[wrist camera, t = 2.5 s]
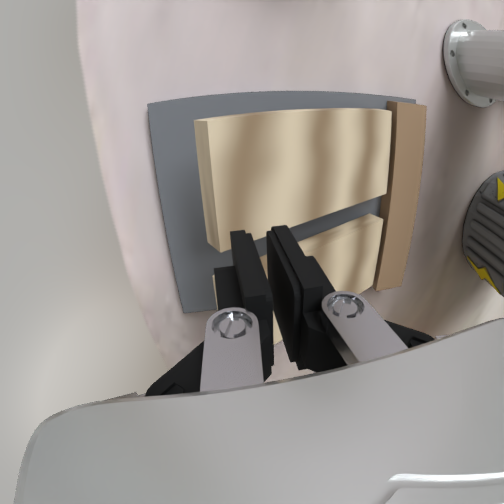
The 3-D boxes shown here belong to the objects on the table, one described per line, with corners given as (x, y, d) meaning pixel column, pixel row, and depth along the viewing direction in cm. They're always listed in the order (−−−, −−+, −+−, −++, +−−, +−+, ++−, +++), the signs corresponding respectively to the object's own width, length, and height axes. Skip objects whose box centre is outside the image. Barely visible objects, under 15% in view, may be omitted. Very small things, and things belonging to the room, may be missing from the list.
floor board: (408, 98, 29) (426, 101, 26) (388, 275, 41) (400, 289, 38) (149, 103, 26) (143, 104, 23) (183, 305, 38) (183, 324, 35)
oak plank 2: (369, 213, 34) (383, 219, 33) (360, 278, 38) (372, 285, 37) (212, 275, 25) (224, 287, 23) (224, 352, 29) (235, 365, 28)
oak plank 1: (375, 108, 28) (391, 110, 27) (371, 188, 33) (386, 193, 31) (193, 120, 19) (207, 121, 17) (207, 242, 23) (220, 252, 22)
